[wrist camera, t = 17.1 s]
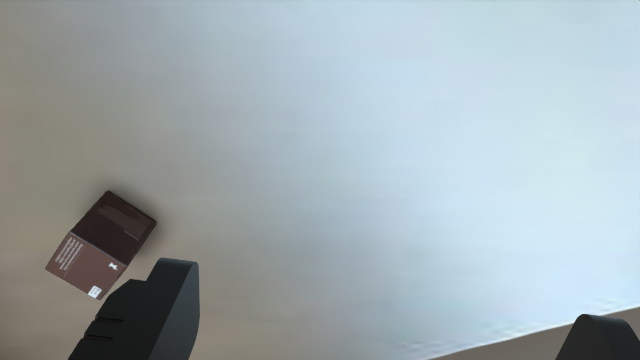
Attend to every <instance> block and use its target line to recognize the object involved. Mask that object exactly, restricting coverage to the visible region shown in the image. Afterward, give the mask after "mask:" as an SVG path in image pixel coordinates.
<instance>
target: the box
mask: <svg viewBox="0 0 640 360" xmlns="http://www.w3.org/2000/svg"><path fill="white" fill-rule="evenodd" d="M155 225H156V222H155V221H153V220H152V219H150V218H149V217H147V216H146V215H144V214H143V213H141V212H139V211H138V210H136V209H134V208H133V207H131V206H130V205H128V204H127V203H125V202H124V201H122V200H121V199H119V198H118V197H116V196H114V195H113V194H111V193H109V192H105V194H104V195H103V196H102V197H101V198H100V199H99V200H98V201H97V202H96V203H95V204H94V205H93V207H92V208H91V209H90V210H89V211H88V212H87V213H86V214H85V216H84V217H83V218H82V219H81V220H80V221H79V222H78V223H77V224H76V225H75V227H74V228H73V229H72V230H70V231H69V233H68V234H67V235H66V237H65V238H64V240H63V241H62V243H61V244H60V246H59V247H58V249H57V250H56V252H55V253H54V255H53V257H52V258H51V260H50V261H49V263H48V264H47V266H46V268H45V269H46V270H47V271H49V272H51V273H52V274H54V275H56V276H58V277H59V278H61V279H63V280H65V281H66V282H68V283H70V284H72V285H73V286H75V287H77V288H78V289H80V290H82V291H84V292H85V293H87V294H89V295H90V296H92V297H94V298H96V299H98V300H102V299H103V297H104V296H105V295H106V294H107V292H108V291H109V290H110V289H111V287H112V286H113V285H114V284H115V282H116V281H117V280H118V278H119V277H120V276H121V275H122V273H123V272H124V271H125V270H126V268H127V267H128V265H129V264H130V262H131V261H132V259H133V258H134V256H135V255H136V253H137V252H138V251H139V249H140V248H141V246H142V245H143V243H144V242H145V240H146V239H147V237H148V235H149V234H150V232H151V231H152V229H153V228H154V227H155Z"/></svg>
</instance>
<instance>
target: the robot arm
mask: <svg viewBox="0 0 640 360" xmlns="http://www.w3.org/2000/svg"><path fill="white" fill-rule="evenodd" d="M199 318H200V305H199V268H198V263H197V262H193V261H185V260H178V259H170V258H160V259H159V260H158V261H157V263H156V264H155V266H154V268H153V270H152V271H151V273H150V275H149V277H148V278H147V280H146V281H142V280H134V279H130V280H128V281H127V282H126V283H124V284H123V285H122V286H121V287H119V288H118V289H117V290H115V291H114V292H113V293H111V294H110V295H109V296H108V298H107V299H106V301H105V302H104V304H103V305H102V307H101V308H100V310H99V312H98V313H97V315H96V316H95V320H94V321H92V322H91V324H90V326H89V327H88V329H87V330H86V332H85V333H84V337H83V339H81V340H80V341H79V343H78V344H77V346H76V347H75V349H74V350H73V352H72V354H71V355H70V357H69V358H68V360H188V359H189V357H190V354H191V351H192V349H193V346H194V343H195V340H196V336H197V332H198V326H199ZM555 360H640V341H639V339H638V338H637V336H636V335H635V333H634V332H633V330H632V328H631V327H630V325H629V324H628V323H627V322H626V321H624V320H623V319H620V318H612V317H605V316H597V315H589V314H582V315H580V316H579V317H578V318H577V319H576V321H575V323H574V325H573V326H572V329H571V330H570V332H569V334H568V336H567V338H566V340H565V342H564V344H563V346H562V348H561V350H560V352H559V354H558V356H557V358H556V359H555Z"/></svg>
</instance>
